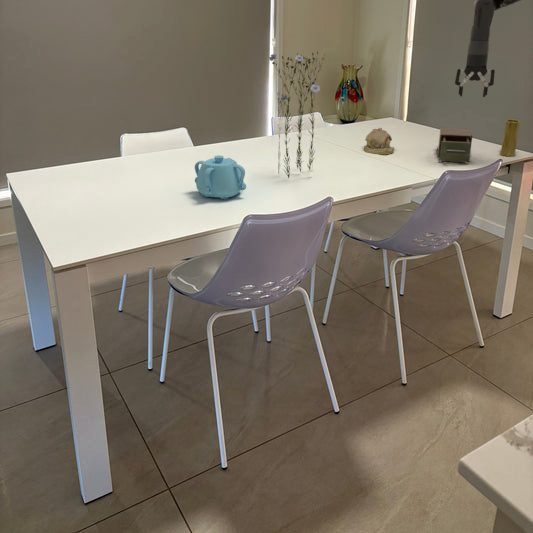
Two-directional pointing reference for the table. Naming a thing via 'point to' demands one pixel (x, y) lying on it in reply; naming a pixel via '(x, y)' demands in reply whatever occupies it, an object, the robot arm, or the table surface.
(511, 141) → the vase
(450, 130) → the cabinet
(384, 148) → the ceramic model
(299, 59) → the wildflower
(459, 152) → the drawer
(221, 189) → the decorative pot
